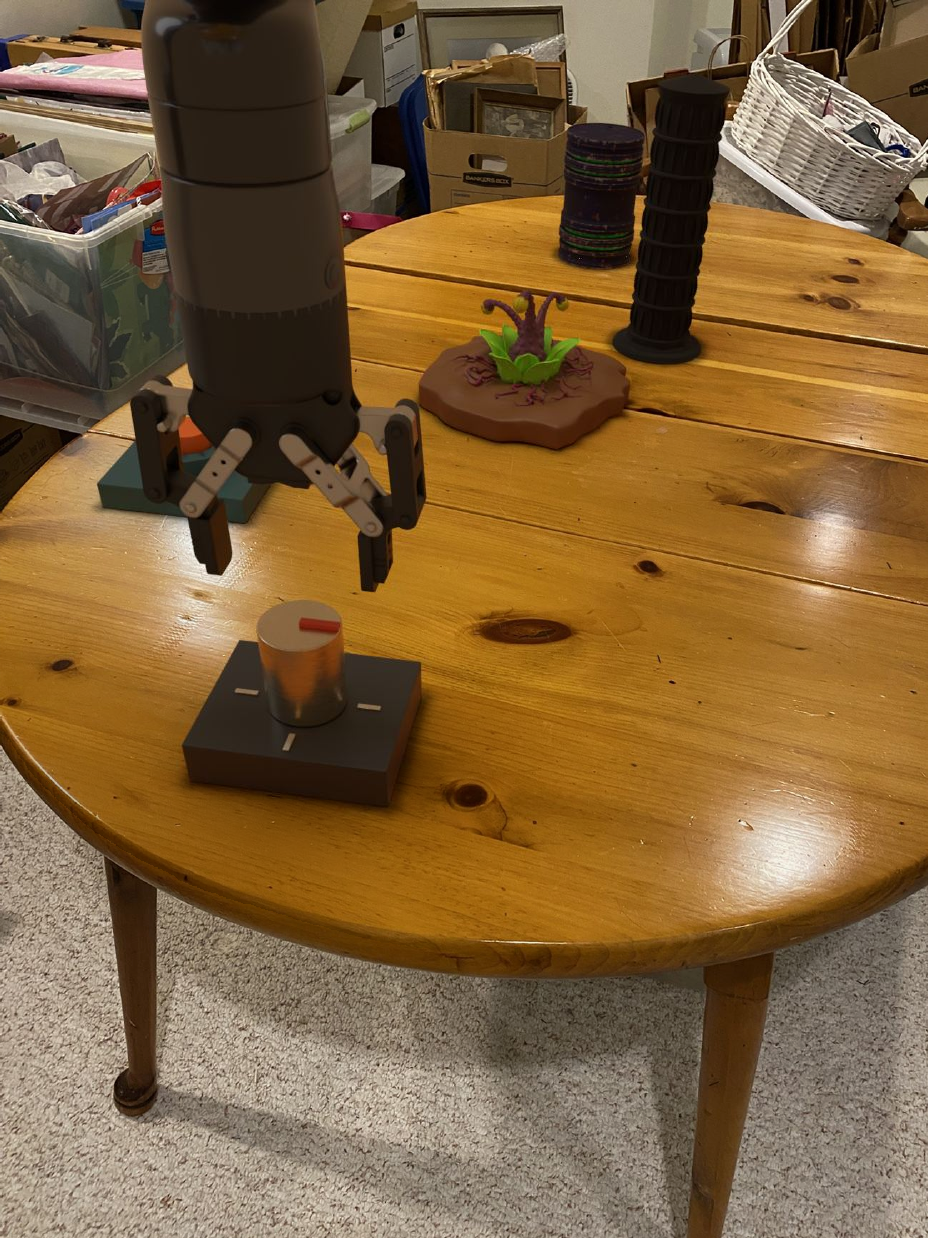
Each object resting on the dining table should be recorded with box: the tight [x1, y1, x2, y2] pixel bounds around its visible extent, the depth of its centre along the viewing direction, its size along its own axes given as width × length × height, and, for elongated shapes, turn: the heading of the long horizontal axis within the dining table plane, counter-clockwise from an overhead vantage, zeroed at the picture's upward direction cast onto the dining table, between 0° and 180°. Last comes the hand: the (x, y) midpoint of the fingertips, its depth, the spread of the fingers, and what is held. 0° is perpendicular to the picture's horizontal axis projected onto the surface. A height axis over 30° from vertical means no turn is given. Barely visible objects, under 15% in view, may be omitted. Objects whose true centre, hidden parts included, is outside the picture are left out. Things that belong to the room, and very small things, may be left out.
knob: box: [255, 599, 348, 727], centre depth 60 cm, size 5×5×6 cm
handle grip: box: [611, 73, 731, 365], centre depth 105 cm, size 10×26×10 cm
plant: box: [418, 289, 631, 450], centre depth 98 cm, size 20×20×11 cm
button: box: [179, 416, 212, 455], centre depth 83 cm, size 4×4×2 cm
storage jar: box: [557, 122, 646, 270], centre depth 131 cm, size 10×10×15 cm
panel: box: [181, 639, 422, 808], centre depth 63 cm, size 12×10×3 cm
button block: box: [96, 440, 272, 524], centre depth 85 cm, size 12×10×4 cm
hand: (295, 575), depth 56 cm, fingers open, 8 cm apart
